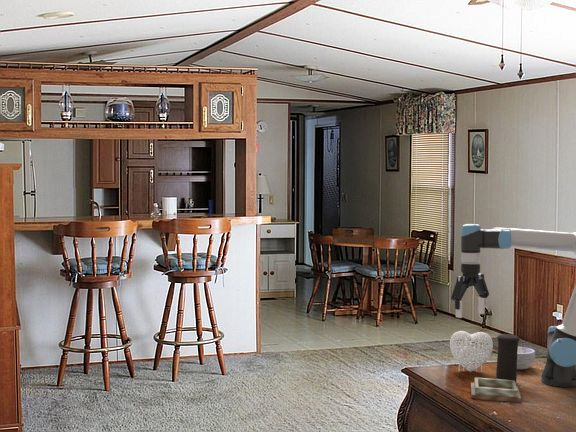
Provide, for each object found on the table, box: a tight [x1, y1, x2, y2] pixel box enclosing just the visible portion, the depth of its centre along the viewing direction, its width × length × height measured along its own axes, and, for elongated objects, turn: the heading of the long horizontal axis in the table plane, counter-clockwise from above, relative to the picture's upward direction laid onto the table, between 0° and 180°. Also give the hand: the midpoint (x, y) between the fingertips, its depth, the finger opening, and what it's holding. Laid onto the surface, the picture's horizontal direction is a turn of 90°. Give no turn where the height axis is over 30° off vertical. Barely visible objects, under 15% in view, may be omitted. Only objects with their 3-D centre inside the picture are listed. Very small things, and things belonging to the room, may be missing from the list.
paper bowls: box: [517, 346, 536, 370], centre depth 374 cm, size 15×15×8 cm
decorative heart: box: [449, 330, 494, 373], centre depth 364 cm, size 18×11×17 cm, turn 81°
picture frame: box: [470, 377, 522, 403], centre depth 329 cm, size 18×18×4 cm
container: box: [495, 333, 520, 384], centre depth 344 cm, size 9×9×20 cm
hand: (470, 315), depth 343 cm, fingers open, 13 cm apart
